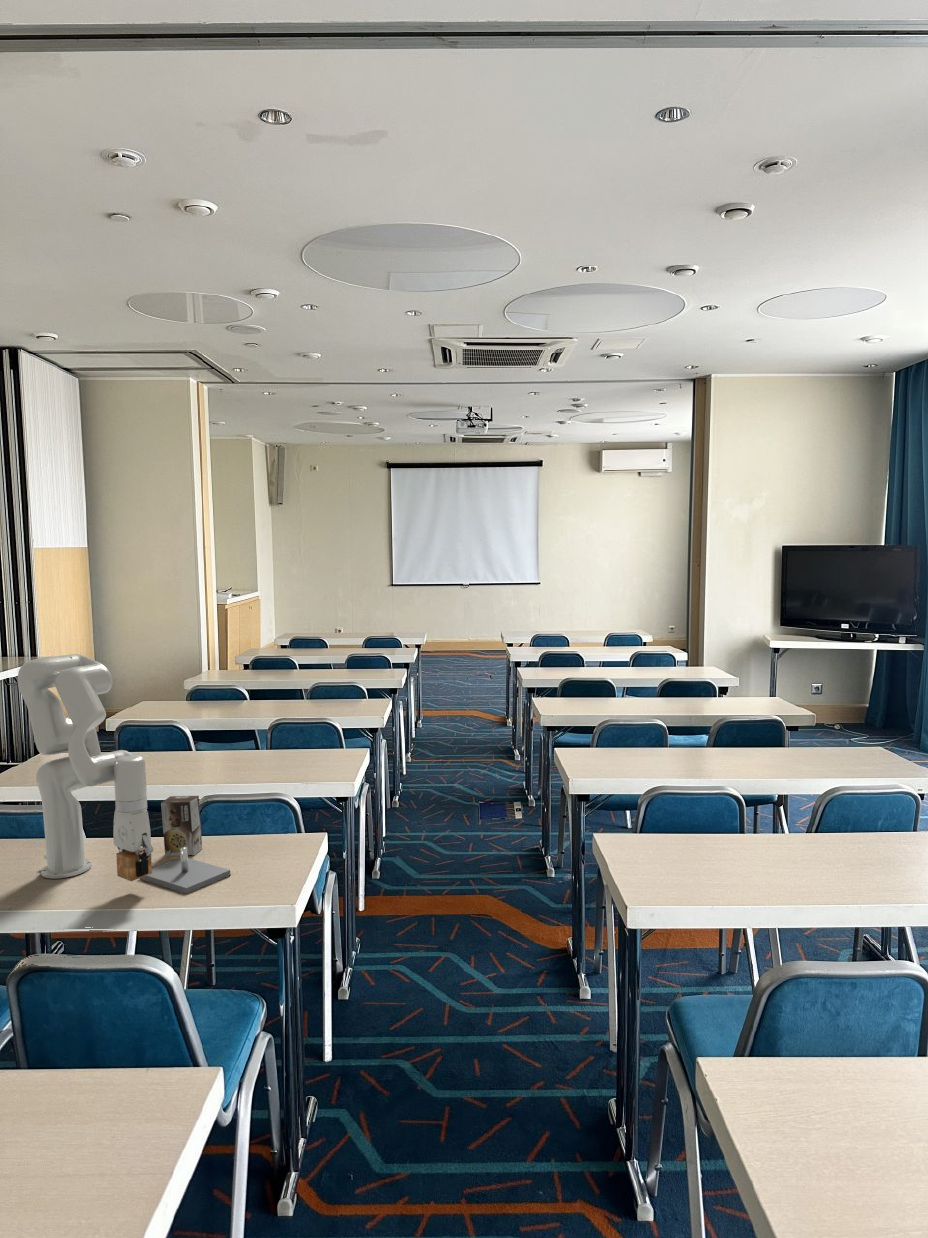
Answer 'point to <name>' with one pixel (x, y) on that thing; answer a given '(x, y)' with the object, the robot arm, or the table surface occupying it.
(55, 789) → the robot arm
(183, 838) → the coffee box
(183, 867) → the rod
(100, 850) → the table surface
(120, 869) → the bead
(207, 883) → the grey rectangular slab
